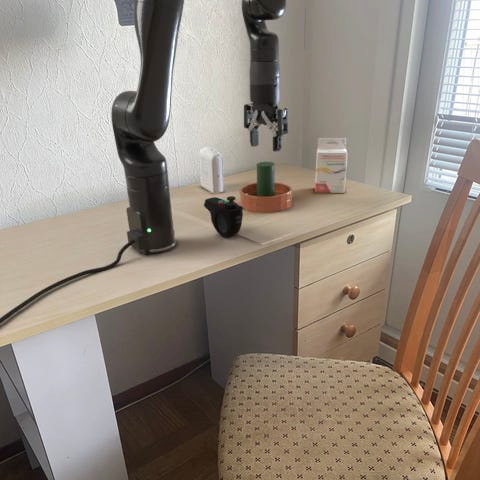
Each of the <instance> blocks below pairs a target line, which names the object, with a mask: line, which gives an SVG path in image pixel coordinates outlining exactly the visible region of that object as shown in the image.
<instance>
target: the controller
mask: <svg viewBox="0 0 480 480" xmlns="http://www.w3.org/2000/svg"><path fill="white" fill-rule="evenodd" d="M236 199H237V198H236V196H234V195H233V196H232V195H231V196H227V197H226V200H225V199H222V198H219V197H217V196H213V197H210V198H209V197H208V198H206V199H204V203H203V207H204V208H205V209H206V210H207V211H208V212H209V214H210V219H211V223H212V226H213V228H214V230H215V231H216V232H217V234H219V235H220V236H221V237H224V238H230V237H233V236H235V235H237V234H238V233H239V232H240V231H241V229H242V224H243V218H244V212H243V210H244V209H243V207H242V206H240V204H238V203H237V202H235V200H236Z"/></svg>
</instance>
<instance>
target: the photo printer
mask: <svg viewBox="0 0 480 480" xmlns="http://www.w3.org/2000/svg"><path fill="white" fill-rule="evenodd" d="M198 162H199V178H200V185H201V187H203V189H205V190H207V191H209V192H210V193H212V194H217V193H218V194H219V193H222V192H224V191H225V179H224V159H223V156H222V155H221V152H219V151H218V150H217V149H216V148H214V147H211V146H204V147H202V148H200V150H199V152H198Z"/></svg>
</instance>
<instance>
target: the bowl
mask: <svg viewBox="0 0 480 480" xmlns="http://www.w3.org/2000/svg"><path fill="white" fill-rule="evenodd" d="M292 205H293V188H292V186H290V185H288V184H286V183H283V182H276V181H275V196H270V197H257V182H252V183H248V184H245V185H243V186H241V187H240V188H239V206H242V207H243V210H245V211H248V212H252V213H253V212H254V213H264V214H265V213H276V212H282V211H284V210H287V209H289V208H291V207H292Z"/></svg>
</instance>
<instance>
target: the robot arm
mask: <svg viewBox="0 0 480 480" xmlns="http://www.w3.org/2000/svg"><path fill="white" fill-rule="evenodd" d="M184 5H185V0H134V2H133V9H132V17H133V18H132V19H133V25H134V31H135V35H136V40H137V44H138V49H139V55H140V70H139V71H140V72H139V77H138V84H137V89H136V90H125V91H122V92H120V93H119V94H117V96H116V97H115V98H114V100H113V103H112V106H111V112H110V113H111V115H110V117H111V125H112V131H113V136H114V141H115V146H116V151H117V156H118V159H119V161H120V164H121V165H122V167H123V172H124V176H125V177H124V178H125V184H126V185H125V186H126V193H127V198H128V205H129V206H128V207H126V209H125V210H126V216H127V217H126V218H127V223H128V229H129V230H128V231H126V236H127V241H128V242H127V243H126V244H124V246H122V248H121V249H120V250H119V251H118V253H117V256H116V259H115V260H114V261H113V262H112V263H110V264H107V265H105V266H101V267H96V268H90V269H85V270H83V271H81V272H78V273H75V274H73V275H70V276H68V277H65V278H62V279H61V280H58V281H56V282H54V283H52V284H51V285H48V286H47V287H44V288H43V289H41V290H40V291H38V292H35V294H33V295H31V296H30V297H29V298H27V299H25V300H24V301H22V302H21V303H20V304H18V305H17V306H15V307H13V308H12V309H11V310H9V311H8V312H7V313H5V314H4V315H2V316H1V317H0V324H2V323H4V322H5V321H6V320H8V319H9V318H10V317H11V316H13V315H14V314H15V313H17V312H18V311H21V310H22V309H23V308H25V307H26V306H28V305H29V304H30V303H32V302H33V301H35V300H36V299H38V298H39V297H41V296H43V295H44V294H46V293H48V292H49V291H51V290H54V289H55V288H57V287H60V286H61V285H63V284H66V283H68V282H71V281H73V280H75V279H78V278H81V277H82V276H83V277H84V276H85V275H86V276H87V275H89V274H95V273H99V272H104V271H107V270H110V269H112V268H114V267H116V266H117V265H118V264H119V263H120V261H121V260H122V256H123V255H124V252H125V251H126V250H127V249H128V248H129V247H131V248H133V249H134V250H137V252H140V253H141V254H143V255H149V254H158V253H163V252H168V251H169V250H172V249H173V248H174V247H175V246H176V245H177V244H176V243H177V242H176V238H175V228H174V220H173V219H174V218H173V210H172V200H171V191H170V190H171V189H170V180H169V171H168V170H169V169H168V162H167V158H166V157H165V156H164V155H163V153H162V152H161V151H160V150H159V149H158V148H157V145H156V144H155V142H158V141H159V140H160V139H162V137H163V136H164V135H165V134H166V131H167V129H168V127H169V125H170V124H169V123H170V118H171V106H172V93H173V92H172V91H173V78H174V68H175V62H176V61H175V60H176V54H177V47H178V41H179V33H180V27H181V22H182V18H183V13H184V12H183V11H184ZM286 9H287V0H241V13H242V19H243V23H244V27H245V29H246V30H245V31H246V34H247V38H248V42H249V70H248V71H249V72H248V75H249V101H250V102H251V103H245V104H243V128H244V129H247V130H248V132H249V142H250V147H253V148H255V147H258V146H259V141H260V139H259V128H260V127H261V125H264V126H267V128H268V129H269V130H270V131H271V134H272V151H273V152H276V153H277V152H280V151H281V150H282V146H283V143H282V142H283V141H282V140H283V135H286V134H288V133H289V112H288V108H286V107H284V108H283V107H282V108H279V106H278V104H279V102H280V100H281V66H280V40H279V36H278V34H277V33H275V32H272V31H270V30H269V29H268V26H267V23H266V21H276V20H278V19H280V18H282V16H283V15H284V13H285V11H286Z"/></svg>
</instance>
